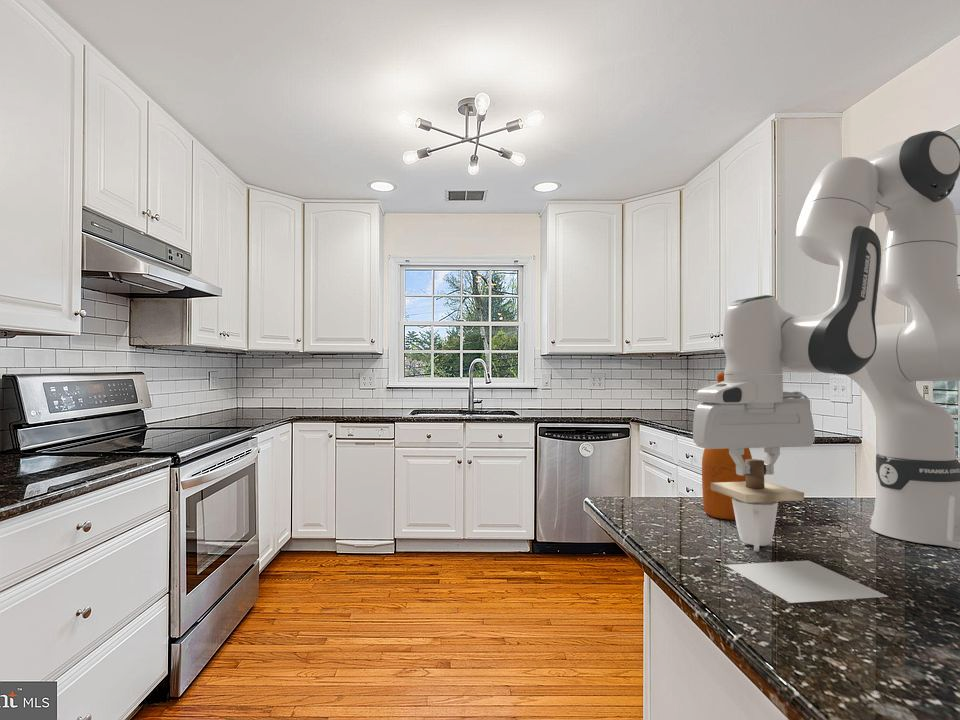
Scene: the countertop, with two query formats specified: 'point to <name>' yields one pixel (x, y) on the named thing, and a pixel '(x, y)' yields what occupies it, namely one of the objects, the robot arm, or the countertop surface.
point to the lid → (756, 487)
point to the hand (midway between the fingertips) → (754, 474)
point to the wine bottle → (719, 477)
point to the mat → (804, 581)
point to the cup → (755, 521)
